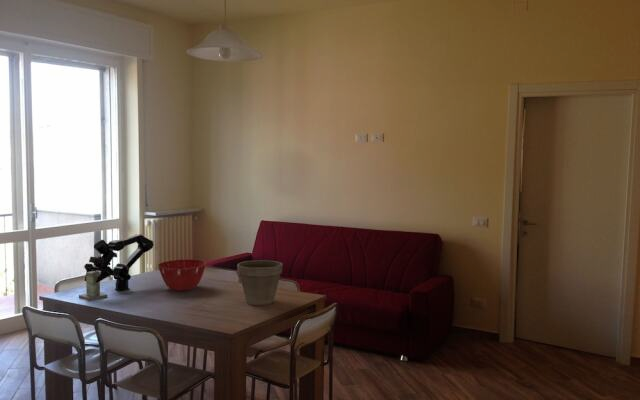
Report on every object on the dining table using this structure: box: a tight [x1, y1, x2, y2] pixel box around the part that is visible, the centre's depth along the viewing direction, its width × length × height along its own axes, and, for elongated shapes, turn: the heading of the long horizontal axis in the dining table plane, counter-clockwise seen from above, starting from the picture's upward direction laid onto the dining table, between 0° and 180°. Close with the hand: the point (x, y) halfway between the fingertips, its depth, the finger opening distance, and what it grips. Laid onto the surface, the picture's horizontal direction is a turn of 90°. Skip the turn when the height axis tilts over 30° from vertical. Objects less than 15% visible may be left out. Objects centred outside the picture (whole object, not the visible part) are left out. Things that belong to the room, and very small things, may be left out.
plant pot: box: [236, 259, 284, 306], centre depth 304 cm, size 25×25×22 cm
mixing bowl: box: [157, 258, 207, 292], centre depth 335 cm, size 28×28×15 cm
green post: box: [85, 270, 101, 296], centre depth 312 cm, size 5×5×13 cm
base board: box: [78, 291, 108, 302], centre depth 313 cm, size 11×11×2 cm
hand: (90, 281), depth 311 cm, fingers open, 9 cm apart
